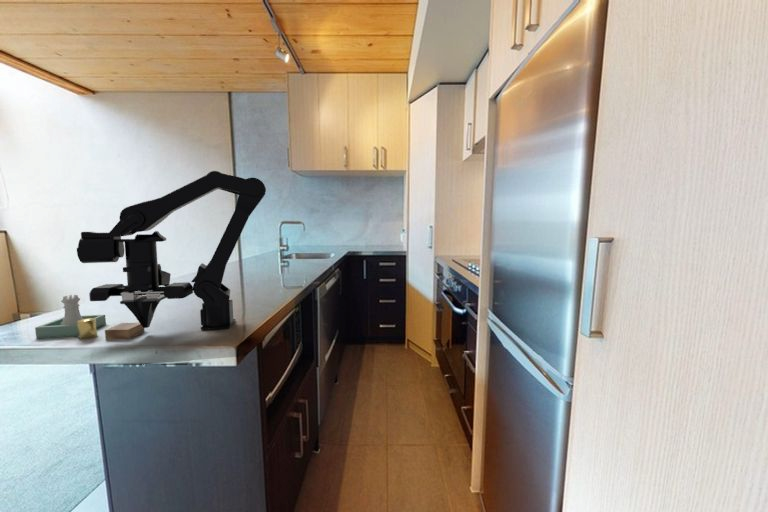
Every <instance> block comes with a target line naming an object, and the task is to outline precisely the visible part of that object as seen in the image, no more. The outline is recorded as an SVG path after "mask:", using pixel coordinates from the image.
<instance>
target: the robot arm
mask: <svg viewBox="0 0 768 512" xmlns="http://www.w3.org/2000/svg"><path fill="white" fill-rule="evenodd" d="M266 189H267V188H266V186H265V184H264V183H263V180H261V179H259V178H257V177H248V178H243V177H239V176H236V175H231V174H226V173H222V172H220V171H217V170H212V171H210V172H208V173H207V174H206V175H203V176H201V177H200V178H198V179H196V180H193V181H191V182H190V183H187V184H185V185H183V186H181V187H179V188H177V189H175V190H174V191H172V192H169V193H167V194H165V195H163V196H161V197H159V198H155V199H151V200H146V201H143V202H139V203H135V204H133V205H129V206H126V207H123V209H122V210H121V211H120V212H119V213H120V214H119V221H118V222H117V223H116V225H115V226H114V227H112V229H111V230H109V232H96V231H81V232H80V239H79V241H78V244H77V247H76V255H77V257H78V260H79V262H81V263H82V264H99V263H102V264H103V263H105V264H106V263H117V262H119V259H120V258H124V256H125V266H124V267H122V272H123V273H126V279H127V284H126V285H124V284H123V283H105V284H103V285H99V286H96V287H93V288H91V290H90V292H89V293H88V294H89V296H88V297H89V301H90V302H105V301H107V300H109V298H110V297H121V301H119V304H120V305H124V306H126V308H127V309H128V310H129V311H130V312H131V313H132V314H133V316H134V318H135V319H136V320H137V322H138V323H140V324H141V325H142V327H143V328H144V329H146V328H147V329H148V328H150V325H151V323H152V320H153V317H154V314H155V312H156V310H157V307H158V305H159V304H160V302H161V301H163V300H165V299H167V300H174V299H175V300H176V299H179V300H180V299H184V298H187V297H188V296H190V295H192V294H194V295H195V296H196V297H197V298H199V299H201V300H202V303H201V307H202V308H201V309H200V310H199V311H200V312H199V314H200V316H199V317H200V325H201V327H200V330H201V331H203V330H204V331H206V330H207V331H208V330H220V329H222V330H223V329H230V328H231V326H232V325H233V324H235V322H236V318H234V307H233V306H234V305H233V304H234V303H233V299H230V298H231V289H230V288H229V287H228V286H227V285H224V283H223V279H224V275H225V272H226V271H225V270H226V268H227V264H228V262H229V260H230V258H231V256H232V254H233V251H234V249H235V247H236V245H237V243H238V241H239V239H240V237H241V235H242V232H243V230H244V228H245V226H246V224H247V222H248V219H249V218H250V216H251V214H253V211H255V209H256V207H257V206H258V205H259V204H260V202H261V201H262V199H263V198H264V196H265V195H266V192H267V191H266ZM217 190H221V191H224V192H228V193H231V194H234V195H237V197H238V198H237V201H236V204H235V208H234V211H233V213H232V216H231V218H230V219H229V222H228V224H227V226H226V228H225V230H224V232H223V234H222V236H221V238H220V240H219V243H218V245H217V247H216V249H215V251H214V254H213V255H212V257H211V259H210V261H209V262H208V263H207V265H206V264H205V263H202V262H201V264H199V266H198V269H197V272H196V275H195V276H194V277H193V278H192V280H191V282H189V281H188V282H173V283H170V282H171V274H172V273H170V272H167V271H165V270H162V265H161V264H160V263H158V250H157V249H158V248H157V242H166V241H167V237H165V236H163V235H162V234H161V233H160V232H159V230H155V231H154V232H153V233H150V234H147V233H146V234H145V233H144V234H139V232H141V233H142V232H148V231H151V230H152V229H154V228H155V227H157V226H158V225H160V224H161V223H162V222H164V220H166V219H167V218H168V217H169V216H170V215H171V214H172V213H174V212H176V211H178V210H180V209H181V208H183V207H186V206H188V205H190V204H192V203H193V202H195V201H197V200H199V199H201V198H203V197H205V196H207V195H209V194H210V193H211V194H212V193H213V192H215V191H217ZM136 233H138V234H136ZM135 234H136V235H135ZM133 235H135V237H134V238H122V237H126V236H127V237H128V236H133ZM191 283H193V284H191Z"/></svg>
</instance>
